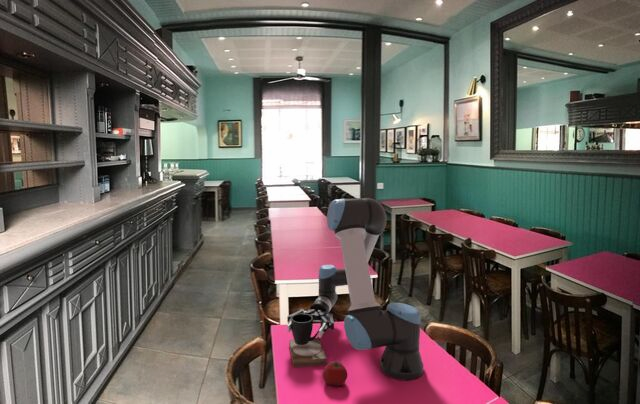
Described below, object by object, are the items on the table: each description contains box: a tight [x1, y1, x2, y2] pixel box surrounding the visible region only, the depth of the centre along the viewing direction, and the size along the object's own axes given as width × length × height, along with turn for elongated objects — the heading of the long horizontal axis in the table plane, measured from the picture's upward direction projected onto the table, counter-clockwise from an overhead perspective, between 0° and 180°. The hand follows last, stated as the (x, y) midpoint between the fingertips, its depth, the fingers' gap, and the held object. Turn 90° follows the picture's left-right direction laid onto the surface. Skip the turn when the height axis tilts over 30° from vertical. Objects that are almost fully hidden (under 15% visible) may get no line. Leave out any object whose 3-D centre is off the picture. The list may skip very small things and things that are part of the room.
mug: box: [291, 314, 323, 345], centre depth 148 cm, size 8×12×10 cm
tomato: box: [322, 360, 348, 387], centre depth 130 cm, size 8×8×7 cm
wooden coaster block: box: [289, 337, 327, 368], centre depth 149 cm, size 16×12×3 cm
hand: (303, 331), depth 144 cm, fingers closed on mug, 12 cm apart
